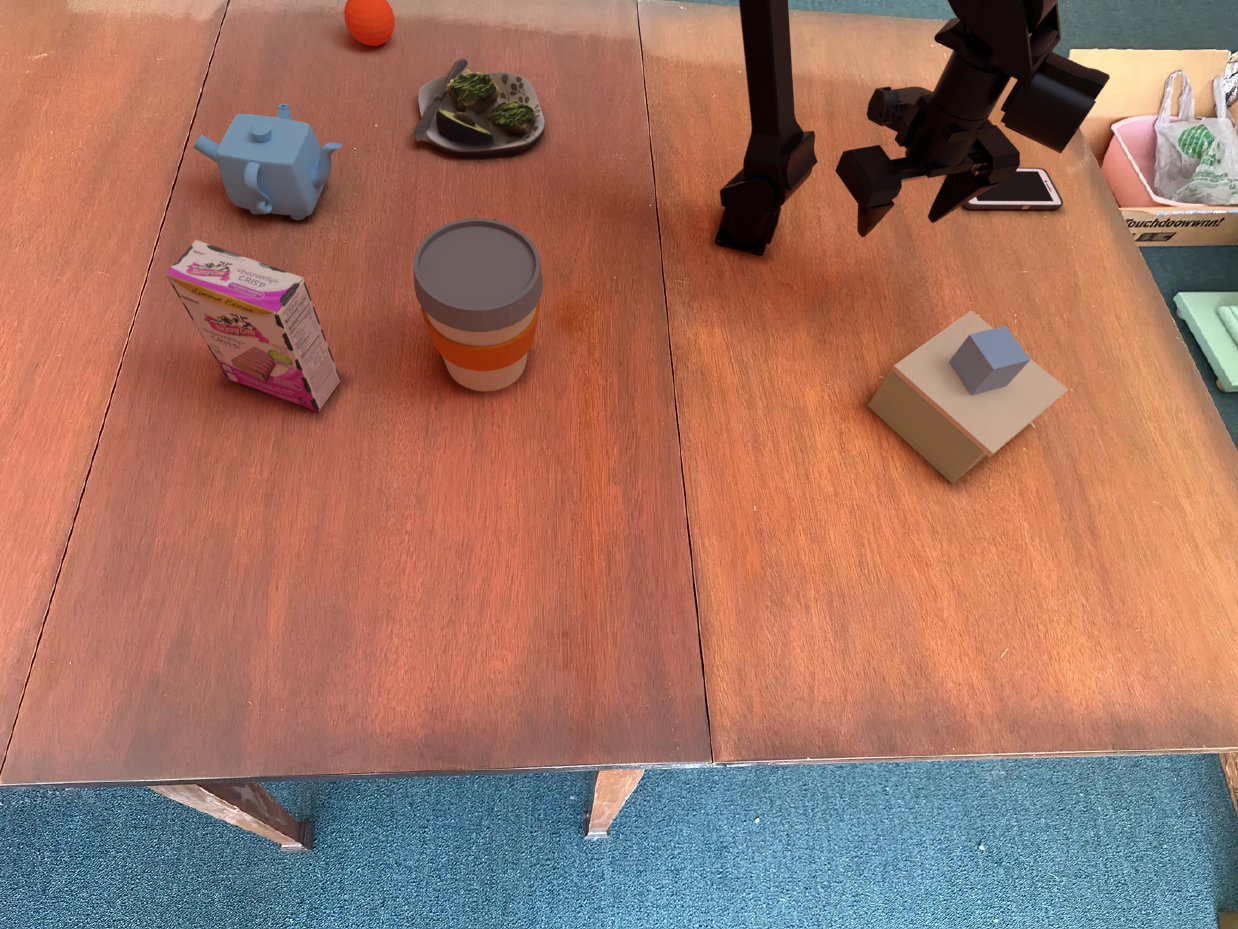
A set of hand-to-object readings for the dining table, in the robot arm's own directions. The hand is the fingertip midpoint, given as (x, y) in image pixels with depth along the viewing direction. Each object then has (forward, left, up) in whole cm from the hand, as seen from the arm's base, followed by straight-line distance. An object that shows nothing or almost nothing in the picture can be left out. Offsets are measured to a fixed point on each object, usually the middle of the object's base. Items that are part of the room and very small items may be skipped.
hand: (896, 227), depth 87 cm
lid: (+12, -14, -5) cm, 19 cm away
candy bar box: (-59, -34, -12) cm, 69 cm away
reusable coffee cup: (-40, -24, -12) cm, 48 cm away
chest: (+12, -14, -12) cm, 22 cm away
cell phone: (+18, +28, -12) cm, 35 cm away
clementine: (-76, +25, -12) cm, 81 cm away
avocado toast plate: (-55, +14, -12) cm, 58 cm away
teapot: (-72, -8, -12) cm, 74 cm away
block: (+12, -14, -4) cm, 19 cm away
